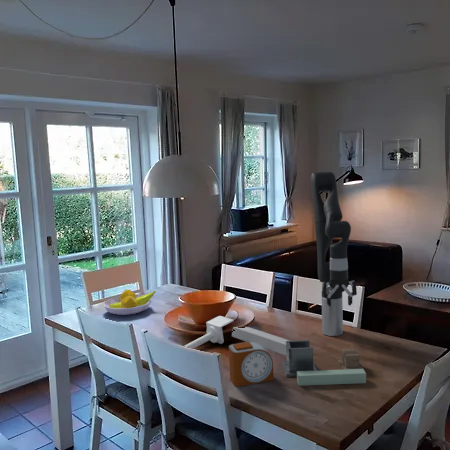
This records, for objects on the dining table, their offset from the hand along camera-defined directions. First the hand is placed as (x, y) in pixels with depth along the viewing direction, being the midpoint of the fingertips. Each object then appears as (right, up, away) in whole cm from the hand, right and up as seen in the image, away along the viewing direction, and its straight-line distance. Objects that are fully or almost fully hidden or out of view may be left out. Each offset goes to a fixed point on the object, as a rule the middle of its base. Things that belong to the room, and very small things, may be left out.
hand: (339, 305), depth 198 cm
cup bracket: (-20, -21, -20) cm, 35 cm away
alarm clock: (-39, -23, -26) cm, 52 cm away
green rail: (-11, -22, -31) cm, 40 cm away
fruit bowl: (-101, -14, +60) cm, 119 cm away
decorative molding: (-30, -19, +8) cm, 36 cm away
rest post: (-1, -20, -20) cm, 28 cm away
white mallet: (-59, -20, +6) cm, 63 cm away
